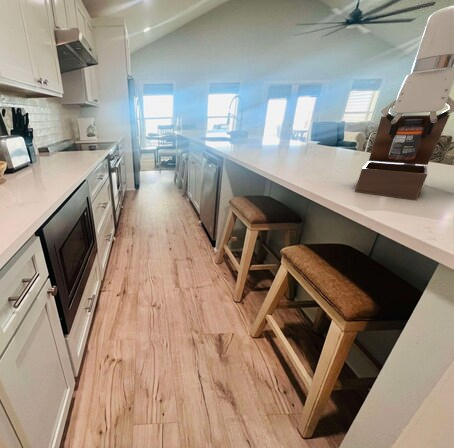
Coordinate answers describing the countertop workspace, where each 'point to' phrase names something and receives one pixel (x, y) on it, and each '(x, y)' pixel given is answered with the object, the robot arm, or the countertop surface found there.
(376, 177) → the chest
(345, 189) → the countertop surface
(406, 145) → the supplement bottle
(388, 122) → the lid
